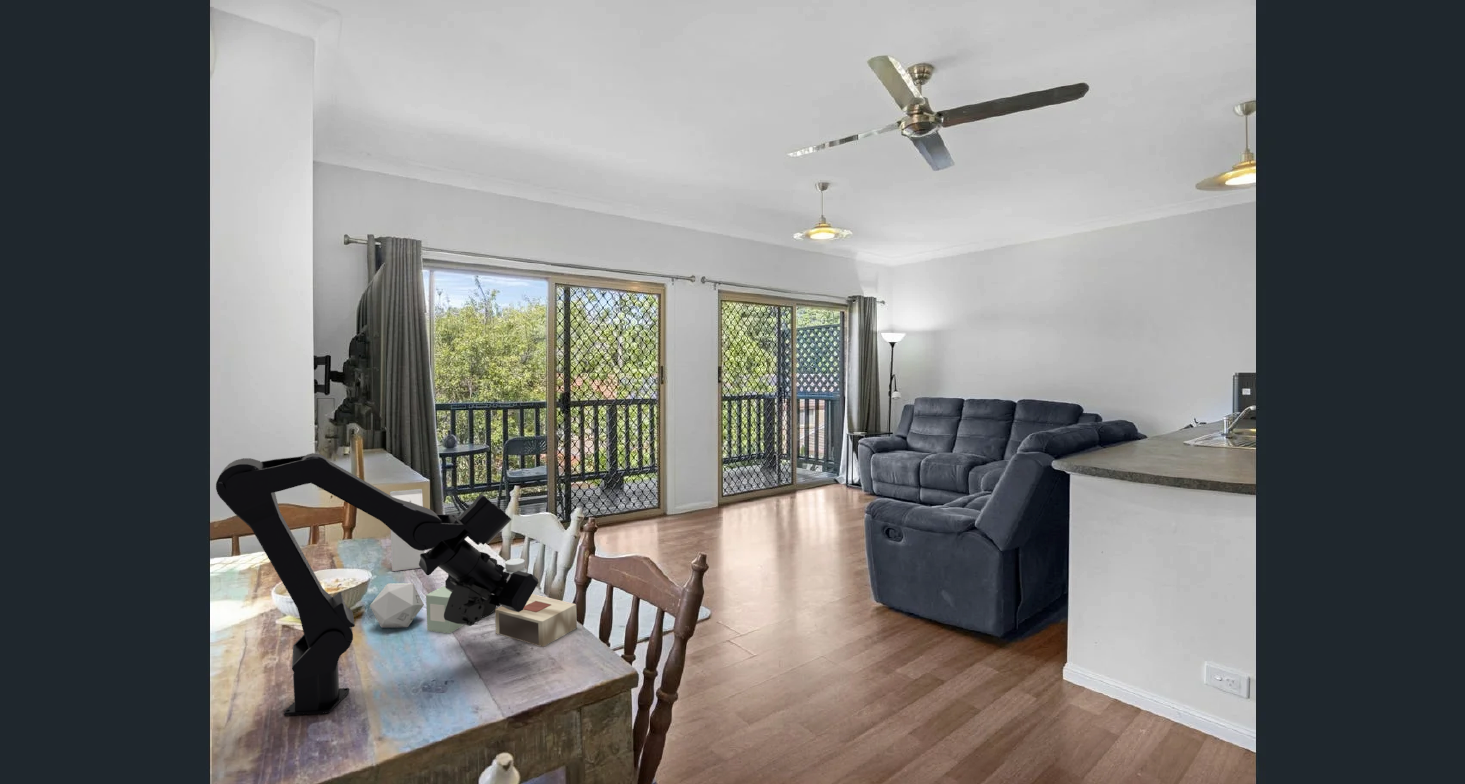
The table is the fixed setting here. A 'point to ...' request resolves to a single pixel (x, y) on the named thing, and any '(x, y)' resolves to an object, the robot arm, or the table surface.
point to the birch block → (537, 620)
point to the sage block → (439, 611)
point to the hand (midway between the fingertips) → (517, 604)
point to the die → (397, 605)
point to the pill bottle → (515, 565)
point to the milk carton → (400, 550)
